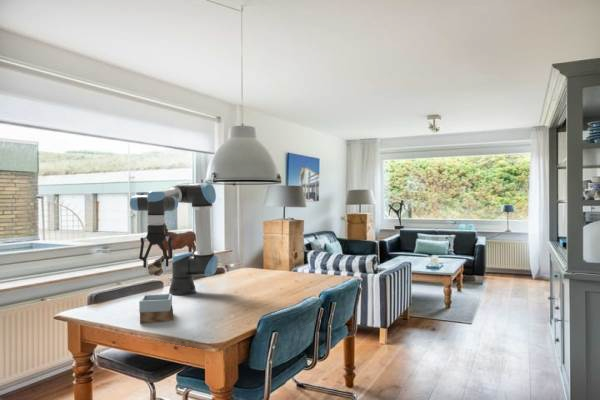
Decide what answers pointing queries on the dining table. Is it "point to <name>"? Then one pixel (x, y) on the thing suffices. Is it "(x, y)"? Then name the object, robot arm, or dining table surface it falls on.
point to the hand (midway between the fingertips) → (156, 274)
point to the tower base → (156, 316)
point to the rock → (156, 267)
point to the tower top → (155, 303)
